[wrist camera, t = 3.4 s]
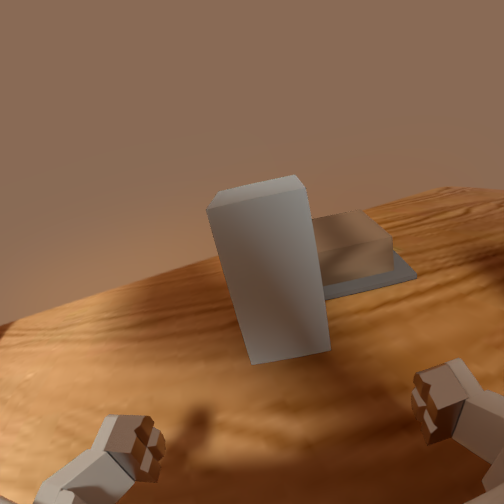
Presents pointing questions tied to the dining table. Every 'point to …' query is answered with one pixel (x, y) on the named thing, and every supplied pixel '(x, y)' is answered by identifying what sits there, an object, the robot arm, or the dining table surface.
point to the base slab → (351, 247)
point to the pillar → (271, 268)
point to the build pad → (372, 280)
